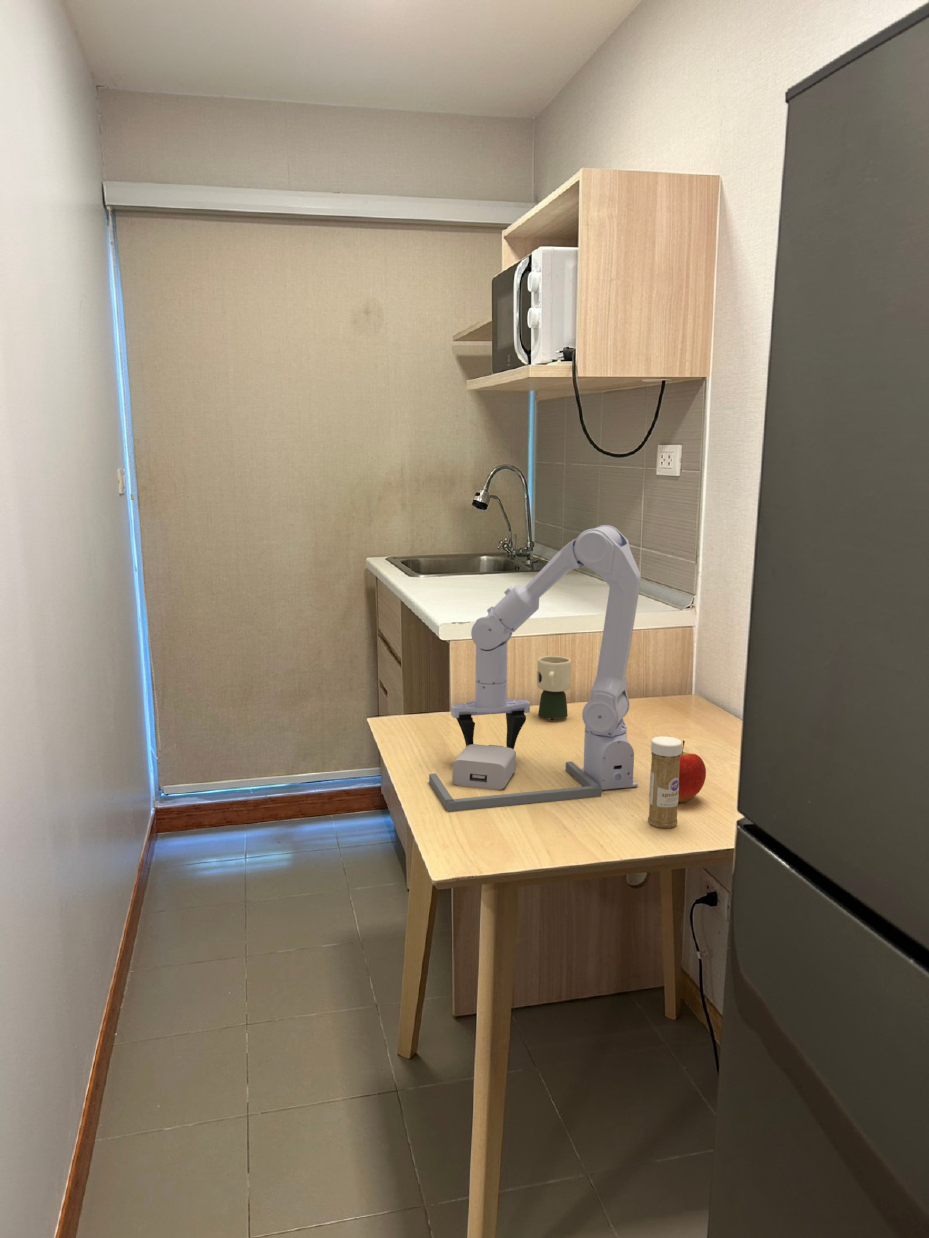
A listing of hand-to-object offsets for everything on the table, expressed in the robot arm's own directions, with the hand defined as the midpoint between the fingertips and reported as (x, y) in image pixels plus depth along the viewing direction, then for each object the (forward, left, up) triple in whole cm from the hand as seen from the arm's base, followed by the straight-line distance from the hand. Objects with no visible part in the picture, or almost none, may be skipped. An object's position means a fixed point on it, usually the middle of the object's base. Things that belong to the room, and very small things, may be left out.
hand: (490, 751), depth 164 cm
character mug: (+23, -21, -2) cm, 31 cm away
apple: (-25, -25, -2) cm, 35 cm away
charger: (-5, +2, -2) cm, 6 cm away
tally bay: (-13, 0, -2) cm, 13 cm away
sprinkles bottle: (-33, -18, -2) cm, 38 cm away
